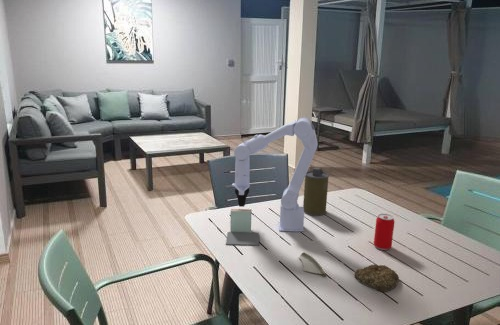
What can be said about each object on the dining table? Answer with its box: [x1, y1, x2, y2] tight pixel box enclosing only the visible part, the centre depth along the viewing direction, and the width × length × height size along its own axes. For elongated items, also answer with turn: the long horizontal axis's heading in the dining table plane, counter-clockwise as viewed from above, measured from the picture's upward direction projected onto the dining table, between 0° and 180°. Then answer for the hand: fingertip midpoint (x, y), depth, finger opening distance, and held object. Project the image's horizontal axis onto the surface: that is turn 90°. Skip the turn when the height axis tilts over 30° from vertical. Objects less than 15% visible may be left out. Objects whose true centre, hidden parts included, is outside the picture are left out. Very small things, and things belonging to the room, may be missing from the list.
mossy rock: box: [353, 263, 400, 293], centre depth 124 cm, size 13×12×5 cm
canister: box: [302, 166, 330, 217], centre depth 175 cm, size 11×10×20 cm
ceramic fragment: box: [297, 251, 327, 277], centre depth 130 cm, size 14×5×4 cm, turn 25°
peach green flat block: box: [229, 208, 253, 232], centre depth 155 cm, size 8×2×9 cm, turn 89°
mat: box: [225, 231, 260, 246], centre depth 150 cm, size 12×10×1 cm
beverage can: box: [373, 213, 395, 251], centre depth 144 cm, size 6×6×12 cm
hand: (241, 205), depth 162 cm, fingers closed
